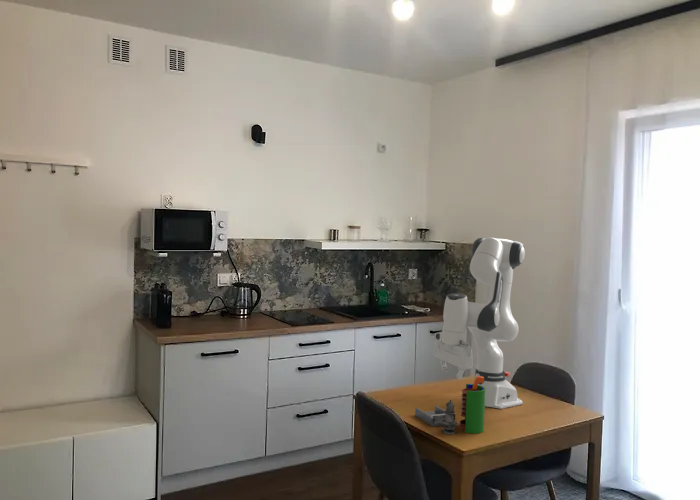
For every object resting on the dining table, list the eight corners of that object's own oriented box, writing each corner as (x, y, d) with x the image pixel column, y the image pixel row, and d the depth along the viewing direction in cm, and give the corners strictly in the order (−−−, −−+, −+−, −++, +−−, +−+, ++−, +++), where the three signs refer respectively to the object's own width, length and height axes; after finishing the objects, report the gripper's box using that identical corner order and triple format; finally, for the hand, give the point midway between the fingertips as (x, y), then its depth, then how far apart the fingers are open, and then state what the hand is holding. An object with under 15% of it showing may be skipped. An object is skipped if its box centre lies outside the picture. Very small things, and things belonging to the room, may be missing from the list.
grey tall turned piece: (459, 434, 211) (461, 401, 210) (445, 435, 209) (446, 402, 209) (452, 428, 217) (454, 396, 216) (438, 429, 215) (439, 397, 214)
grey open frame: (415, 415, 230) (415, 405, 229) (436, 413, 234) (437, 403, 233) (432, 426, 218) (432, 416, 217) (454, 423, 222) (455, 413, 222)
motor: (456, 423, 222) (459, 372, 221) (478, 424, 223) (481, 372, 222) (463, 433, 212) (466, 379, 211) (487, 433, 213) (490, 380, 212)
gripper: (478, 343, 203) (475, 382, 204) (446, 332, 222) (444, 368, 222) (463, 344, 201) (460, 383, 201) (432, 333, 219) (429, 369, 220)
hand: (451, 375), depth 212 cm, fingers open, 8 cm apart
